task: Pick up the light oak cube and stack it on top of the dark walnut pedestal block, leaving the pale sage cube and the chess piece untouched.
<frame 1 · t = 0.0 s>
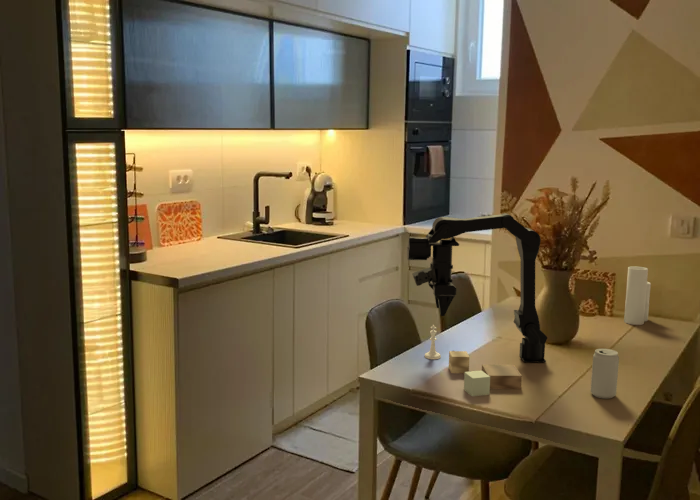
hand: (440, 311, 214), 15 cm above the table, fingers open, 9 cm apart
vase: (634, 321, 261), on the table
chess piece: (432, 357, 219), on the table
sage block: (476, 392, 190), on the table
pedestal: (500, 383, 197), on the table
oak cube: (458, 370, 207), on the table
beverage can: (603, 395, 189), on the table
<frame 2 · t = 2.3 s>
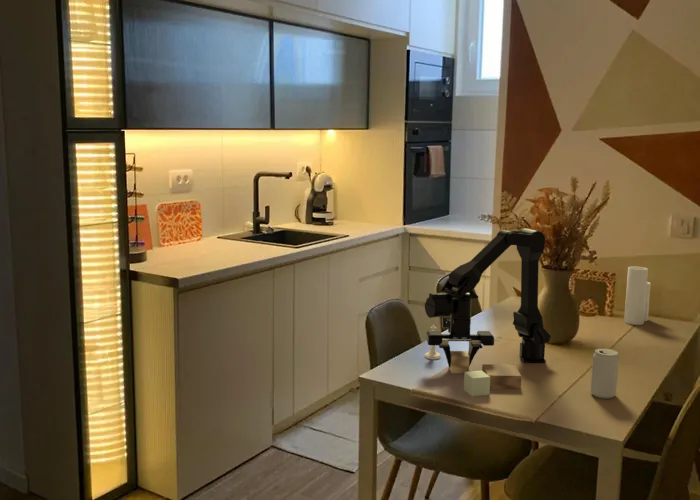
hand: (458, 366, 207), 1 cm above the table, fingers closed on oak cube, 5 cm apart
oak cube: (458, 370, 207), on the table, touching gripper
everything else where it was.
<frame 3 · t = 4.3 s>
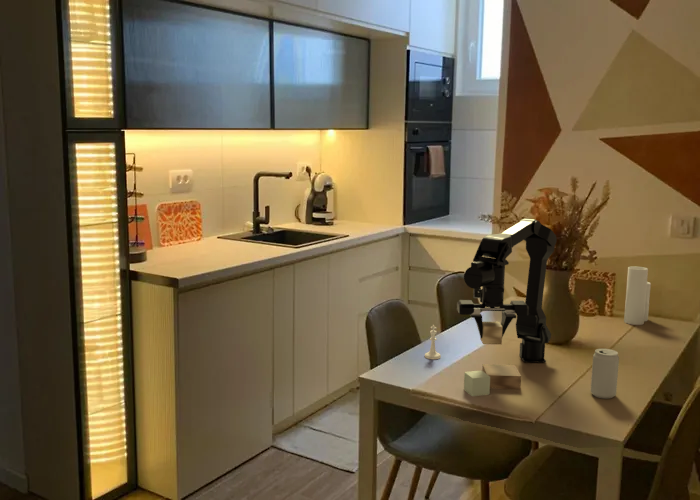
hand: (491, 337, 198), 12 cm above the table, fingers closed on oak cube, 5 cm apart
oak cube: (490, 341, 198), point 11 cm above the table, touching gripper
everything else where it was.
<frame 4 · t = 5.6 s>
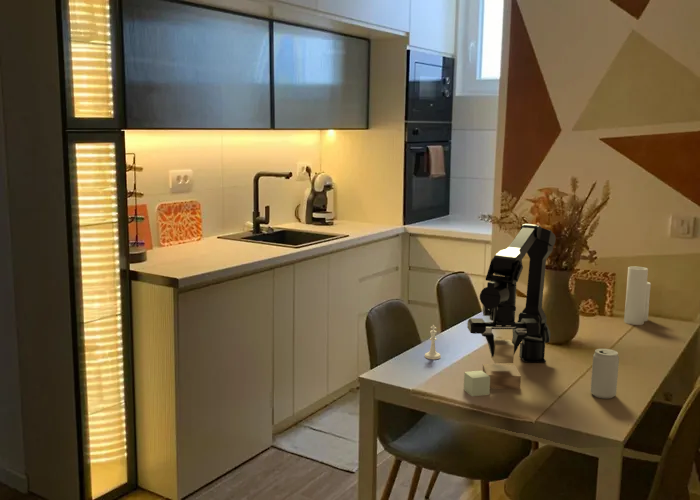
hand: (502, 356, 196), 8 cm above the table, fingers closed on oak cube, 5 cm apart
oak cube: (502, 360, 196), point 6 cm above the table, touching gripper
everything else where it was.
when the fingers open (5 cm above the table, at t = 6.5 s): oak cube stays where it is, point 4 cm above the table.
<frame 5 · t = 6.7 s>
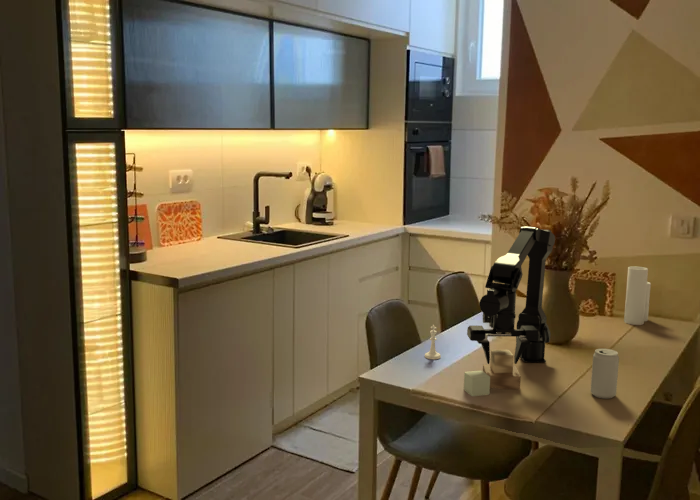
hand: (501, 363, 196), 5 cm above the table, fingers open, 7 cm apart
oak cube: (501, 370, 197), point 4 cm above the table
everything else where it was.
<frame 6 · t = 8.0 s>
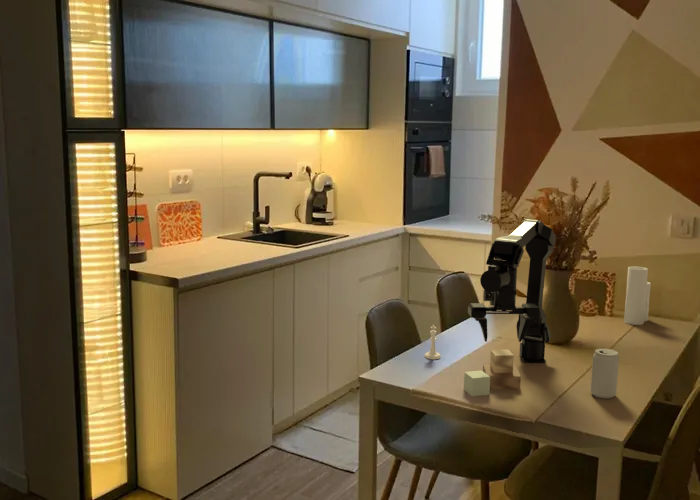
hand: (502, 341, 195), 12 cm above the table, fingers open, 9 cm apart
pedestal: (500, 384, 197), on the table, touching oak cube
oak cube: (501, 370, 197), point 4 cm above the table, touching pedestal
everything else where it was.
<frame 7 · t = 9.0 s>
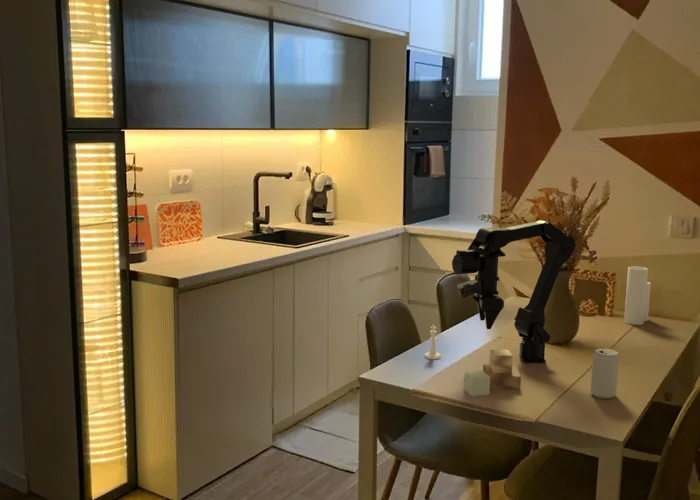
hand: (485, 324, 209), 12 cm above the table, fingers open, 9 cm apart
nothing on the table moved.
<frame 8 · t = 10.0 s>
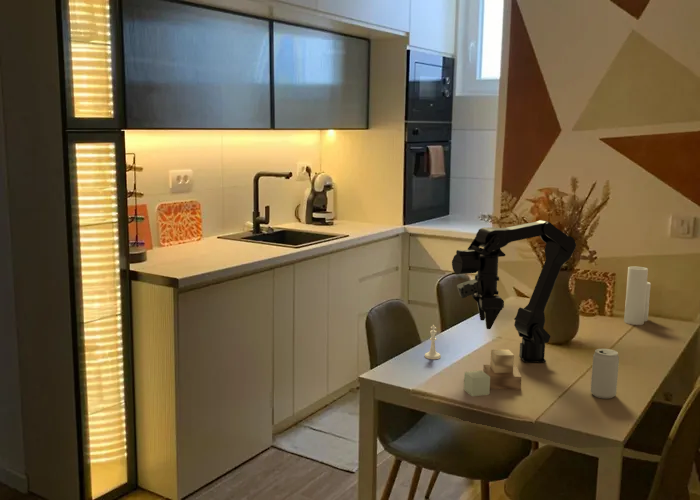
hand: (485, 324, 209), 13 cm above the table, fingers open, 9 cm apart
nothing on the table moved.
at the end: oak cube inside the target area on the pedestal (0.4 cm from its centre), point 4.0 cm above the pedestal's base; oak cube tilted 0°; the gripper is holding nothing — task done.
